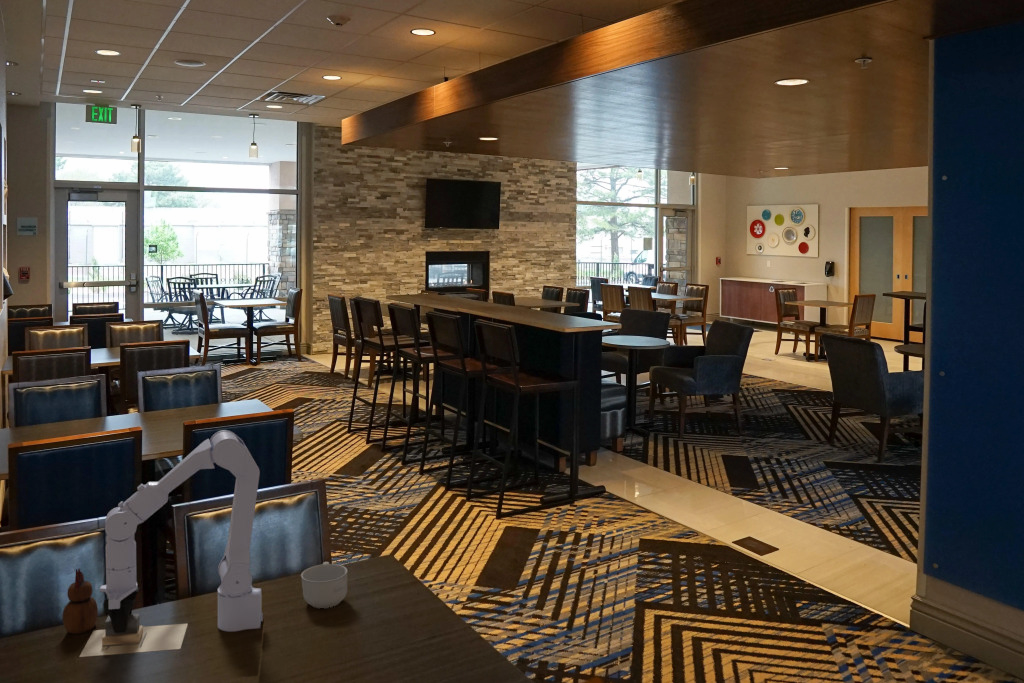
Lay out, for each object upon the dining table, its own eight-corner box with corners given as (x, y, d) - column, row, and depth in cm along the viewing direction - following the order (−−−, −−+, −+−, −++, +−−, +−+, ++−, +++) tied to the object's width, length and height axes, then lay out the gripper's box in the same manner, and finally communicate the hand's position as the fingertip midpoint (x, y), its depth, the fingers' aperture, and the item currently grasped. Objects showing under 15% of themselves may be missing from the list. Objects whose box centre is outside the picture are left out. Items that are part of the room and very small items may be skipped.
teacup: (341, 614, 191) (342, 580, 190) (295, 612, 191) (295, 579, 190) (353, 590, 205) (354, 559, 204) (310, 588, 205) (311, 557, 204)
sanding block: (142, 634, 175) (142, 611, 174) (138, 643, 171) (138, 620, 170) (107, 637, 173) (106, 614, 173) (102, 646, 169) (101, 623, 168)
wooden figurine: (81, 641, 173) (80, 573, 172) (57, 638, 174) (56, 570, 173) (103, 627, 180) (102, 561, 178) (80, 624, 181) (79, 558, 180)
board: (187, 628, 181) (187, 623, 181) (180, 654, 169) (180, 648, 169) (93, 635, 176) (93, 630, 176) (79, 662, 164) (79, 656, 164)
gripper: (108, 554, 176) (108, 614, 177) (91, 580, 162) (92, 645, 164) (143, 552, 178) (144, 612, 179) (130, 577, 164) (130, 642, 165)
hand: (121, 628), depth 172 cm, fingers closed on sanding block, 3 cm apart
